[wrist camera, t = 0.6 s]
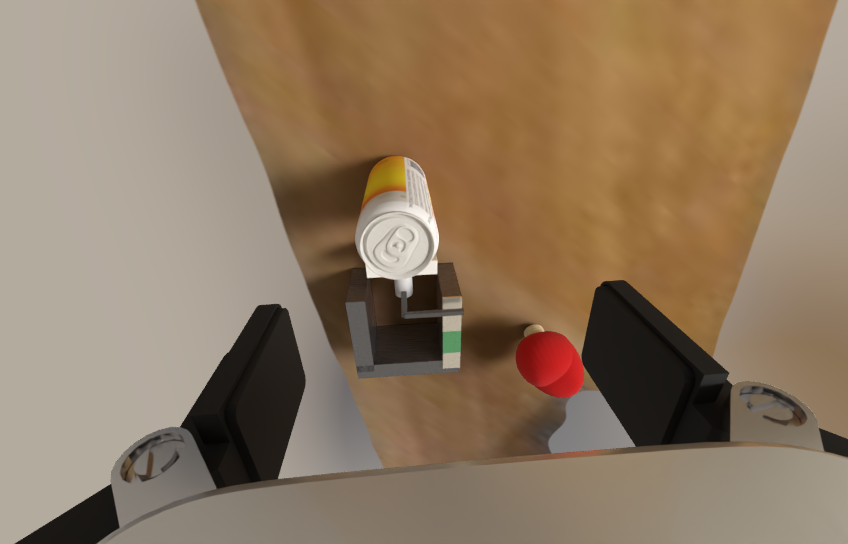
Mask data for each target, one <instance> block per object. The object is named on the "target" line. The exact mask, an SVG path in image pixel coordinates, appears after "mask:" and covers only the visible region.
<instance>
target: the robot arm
mask: <svg viewBox="0 0 848 544" xmlns="http://www.w3.org/2000/svg"><path fill="white" fill-rule="evenodd" d="M582 362H583V365H584V367H585V369H586V370H587V372H588V373H589V375H590V376H591V378H592V379H593V381H594V382H595V384H596V386H597V387H598V389H599V390H600V392H601V393H602V395H603V396H604V398H605V399H606V401H607V403H608V404H609V406H610V407H611V409H612V410H613V412H614V413H615V415H616V416H617V418H618V419H619V421H620V423H621V424H622V426H623V427H624V429H625V430H626V432H627V433H628V435H629V436H630V438H631V439H632V441H633V443H634V444H635V446H636V447H628V448H616V449H604V450H593V451H581V452H580V451H579V452H567V453H554V454H542V455H531V456H519V457H507V458H496V459H484V460H473V461H461V462H450V463H438V464H427V465H416V466H406V467H395V468H384V469H373V470H362V471H351V472H341V473H331V474H321V475H312V476H303V477H293V478H284V479H278V476H279V472H280V469H281V466H282V463H283V459H284V456H285V452H286V449H287V446H288V442H289V439H290V436H291V432H292V429H293V426H294V422H295V419H296V416H297V412H298V409H299V405H300V402H301V399H302V395H303V392H304V389H305V374H304V370H303V366H302V362H301V358H300V354H299V350H298V347H297V343H296V339H295V335H294V331H293V328H292V324H291V320H290V316H289V312H288V310H287V309H286V308H281V306H280V305H279V304H271V305H259V306H258V307H257V308H256V309H255V311H254V313H253V314H252V316H251V317H250V319H249V321H248V323H247V324H246V325H245V327H244V329H243V330H242V332H241V334H240V335H239V337H238V339H237V340H236V342H235V343H234V345H233V347H232V348H231V350H230V351H229V353H227V354H226V355H225V356H224V357H223V359H222V360H221V362H220V364H219V366H218V367H217V369H216V370H215V372H214V373H213V375H212V377H211V378H210V380H209V381H208V383H207V385H206V386H205V388H204V389H203V391H202V393H201V394H200V396H199V397H198V399H197V401H196V402H195V404H194V405H193V407H192V409H191V410H190V412H189V414H188V415H187V417H186V418H185V420H184V421H183V423H182V425H181V426H180V427H169V428H165V429H161V430H158V431H156V432H153V433H151V434H149V435H146V436H145V437H143V438H142V439H140V440H138V441H137V442H135V443H134V444H133V445H132V446H131V447H129V448H128V449H127V450H126V451H125V452H124V453H123V454H122V455H121V457H120V458H119V459H118V460H117V461H116V463H115V465H114V467H113V469H112V472H111V484H110V485H108V486H107V487H105V488H104V489H102V490H101V491H99V492H97V493H96V494H94V495H93V496H91V497H89V498H88V499H86V500H85V501H83V502H81V503H80V504H78V505H76V506H75V507H73V508H71V509H70V510H68V511H67V512H65V513H63V514H62V515H61V516H59V517H57V518H56V519H54V520H52V521H51V522H49V523H47V524H46V525H44V526H43V527H41V528H39V529H38V530H36V531H34V532H33V533H31V534H30V535H28V536H26V537H25V538H23V539H22V540H20V541H18V542H17V543H15V544H848V439H846V438H844V437H841V436H838V435H836V434H833V433H830V432H828V431H825V430H823V429H820V428H819V427H818V422H817V419H816V418H815V415H814V413H813V412H812V411H811V410H810V409H809V408H808V407H807V405H805V404H804V403H803V402H802V401H800V400H799V399H798V398H796V397H795V396H793V395H791V394H789V393H787V392H785V391H784V390H782V389H779V388H777V387H774V386H771V385H768V384H764V383H760V382H754V381H742V382H738V383H736V384H734V385H732V384H731V383H730V382H729V381H728V380H726V379H727V377H728V375H729V372H728V371H726V370H725V369H724V368H723V367H722V366H721V365H720V364H718V363H717V362H716V361H715V360H714V359H713V358H712V357H711V356H710V355H708V354H707V353H706V352H705V351H704V350H703V349H702V348H701V347H699V346H698V345H697V344H696V343H695V342H694V341H693V340H692V339H690V338H689V337H688V336H687V335H686V334H685V333H684V332H682V331H681V330H680V329H679V328H678V327H677V326H676V325H675V324H673V323H672V322H671V321H670V320H669V319H668V318H667V317H666V316H664V315H663V314H662V313H661V312H660V311H659V310H658V309H657V308H655V307H654V306H653V305H652V304H651V303H650V302H649V301H648V300H646V299H645V298H644V297H643V296H642V295H641V294H640V293H639V292H637V291H636V290H635V289H634V288H633V287H632V286H631V285H630V284H628V283H627V282H626V281H624V280H618V281H604V282H603V283H602V284H601V286H599V287H597V288H596V290H595V294H594V299H593V303H592V308H591V313H590V317H589V322H588V327H587V332H586V336H585V341H584V346H583V351H582Z"/></svg>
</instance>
